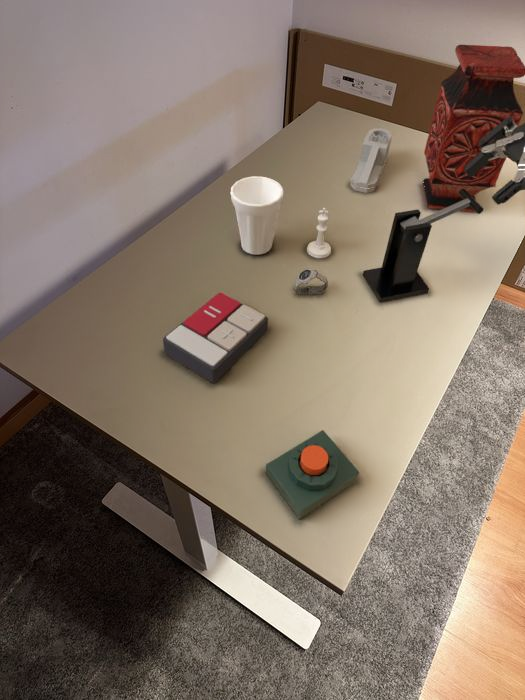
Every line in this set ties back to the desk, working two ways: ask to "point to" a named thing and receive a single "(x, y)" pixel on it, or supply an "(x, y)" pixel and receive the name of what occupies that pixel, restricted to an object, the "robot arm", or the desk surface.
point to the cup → (257, 211)
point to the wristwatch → (306, 278)
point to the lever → (445, 211)
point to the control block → (311, 476)
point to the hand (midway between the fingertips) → (480, 187)
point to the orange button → (314, 460)
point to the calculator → (215, 336)
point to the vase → (470, 121)
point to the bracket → (401, 261)
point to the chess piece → (320, 239)
